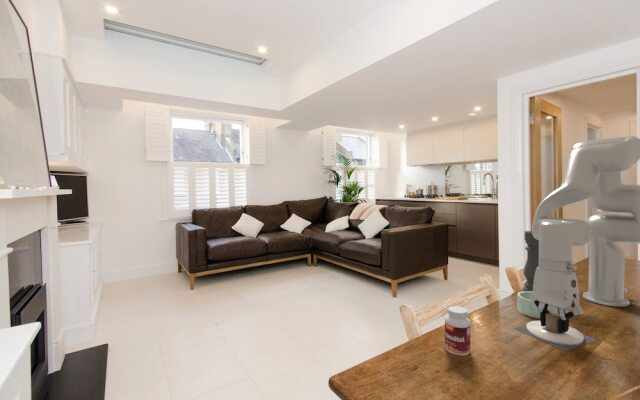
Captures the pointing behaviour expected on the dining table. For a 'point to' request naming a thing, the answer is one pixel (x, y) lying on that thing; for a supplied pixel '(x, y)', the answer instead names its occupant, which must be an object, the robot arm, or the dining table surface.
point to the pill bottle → (457, 331)
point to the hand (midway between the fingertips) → (553, 328)
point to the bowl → (530, 305)
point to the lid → (554, 331)
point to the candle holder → (531, 260)
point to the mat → (562, 347)
